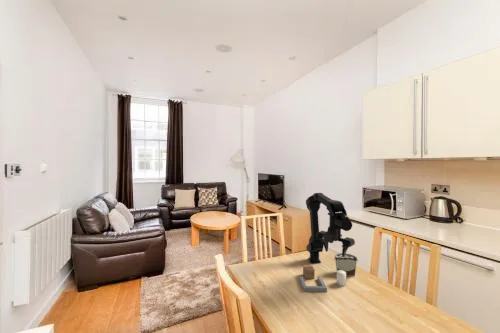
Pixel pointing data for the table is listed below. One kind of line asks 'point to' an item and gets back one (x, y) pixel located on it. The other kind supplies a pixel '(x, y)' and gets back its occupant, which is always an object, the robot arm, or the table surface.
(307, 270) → the walnut block
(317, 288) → the grey bay
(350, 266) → the food container
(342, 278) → the white rounded cylinder
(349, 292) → the table surface
